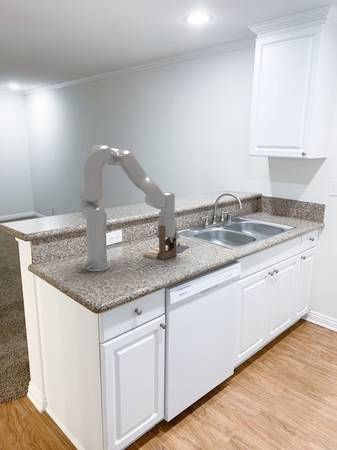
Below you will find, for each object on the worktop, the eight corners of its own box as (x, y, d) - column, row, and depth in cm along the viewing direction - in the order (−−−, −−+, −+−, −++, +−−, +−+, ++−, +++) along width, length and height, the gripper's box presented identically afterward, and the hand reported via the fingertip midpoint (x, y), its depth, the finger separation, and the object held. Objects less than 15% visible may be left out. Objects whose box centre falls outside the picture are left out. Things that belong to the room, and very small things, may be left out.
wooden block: (176, 256, 190) (176, 224, 187) (162, 260, 183) (161, 227, 180) (172, 254, 193) (171, 223, 190) (157, 258, 186) (157, 226, 183)
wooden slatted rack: (156, 259, 185) (156, 256, 184) (143, 257, 188) (143, 253, 188) (180, 245, 211) (180, 242, 210) (168, 244, 214) (168, 240, 214)
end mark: (179, 253, 196) (179, 252, 196) (170, 251, 198) (170, 251, 198) (189, 247, 208) (189, 246, 208) (181, 245, 210) (181, 245, 210)
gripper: (150, 215, 184) (150, 247, 188) (178, 218, 176) (178, 252, 180) (157, 212, 190) (157, 244, 194) (184, 215, 182) (184, 248, 187)
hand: (167, 247), depth 187 cm, fingers closed on wooden block, 4 cm apart
